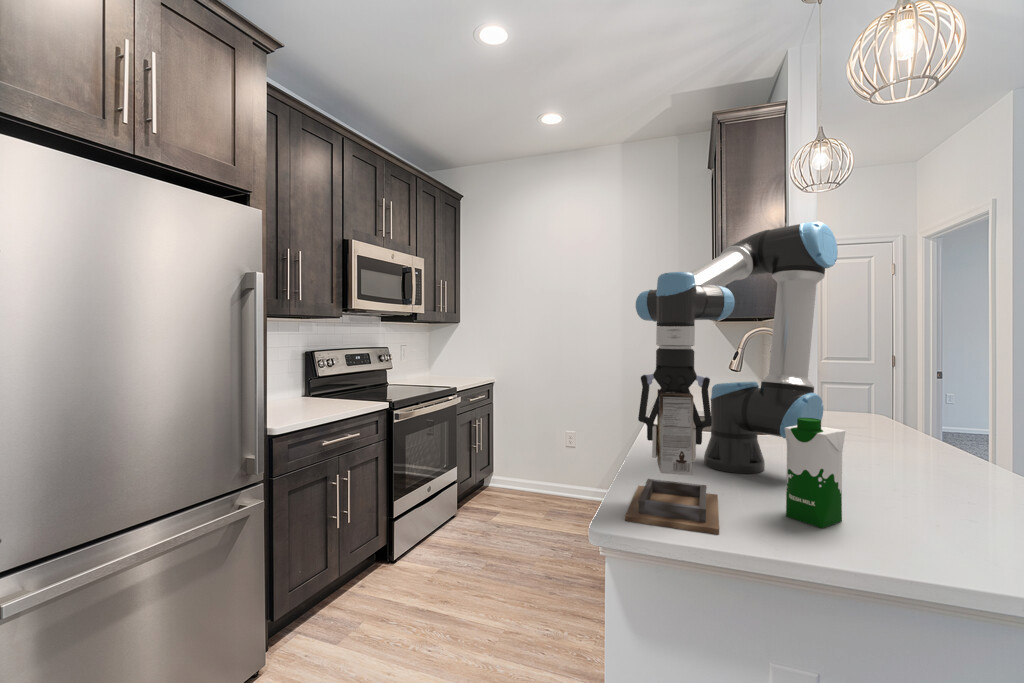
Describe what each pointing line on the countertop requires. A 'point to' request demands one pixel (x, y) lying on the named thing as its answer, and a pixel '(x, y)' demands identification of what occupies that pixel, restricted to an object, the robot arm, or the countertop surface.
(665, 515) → the pocket board
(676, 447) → the coffee box
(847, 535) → the countertop surface
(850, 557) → the countertop surface
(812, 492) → the milk carton
